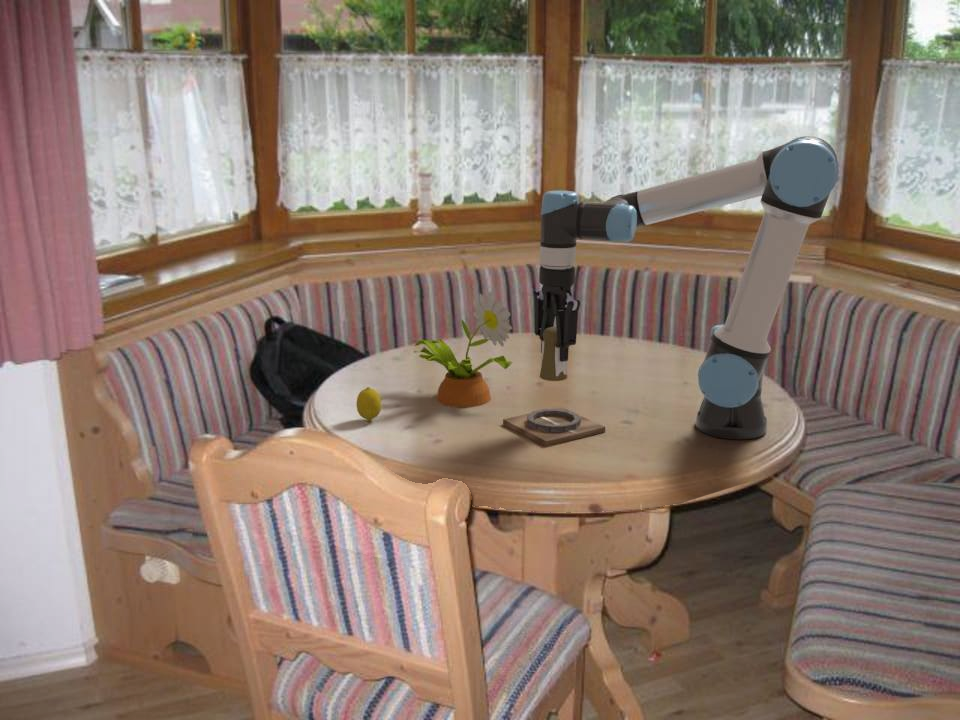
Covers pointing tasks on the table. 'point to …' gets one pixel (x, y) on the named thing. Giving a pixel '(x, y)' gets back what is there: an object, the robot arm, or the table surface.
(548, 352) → the olive round stacked cylinder
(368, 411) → the lemon
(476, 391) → the decorative plant
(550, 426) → the socket board
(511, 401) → the table surface
